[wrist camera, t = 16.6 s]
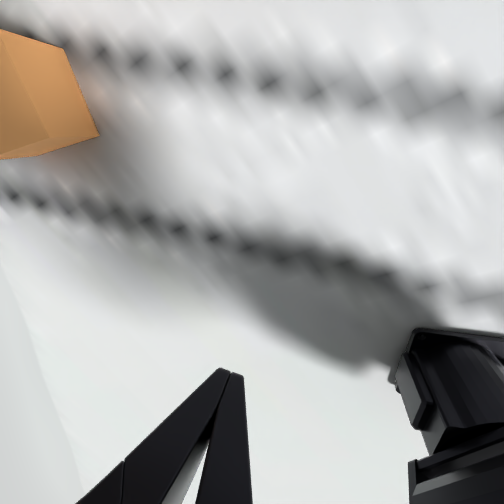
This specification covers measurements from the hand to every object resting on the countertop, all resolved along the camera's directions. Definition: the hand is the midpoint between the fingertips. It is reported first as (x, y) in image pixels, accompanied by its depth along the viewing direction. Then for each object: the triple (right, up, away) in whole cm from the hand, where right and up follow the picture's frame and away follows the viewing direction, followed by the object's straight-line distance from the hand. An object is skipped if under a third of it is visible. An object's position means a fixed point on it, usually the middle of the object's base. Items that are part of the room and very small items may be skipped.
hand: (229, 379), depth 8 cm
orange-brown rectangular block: (-13, +14, +10) cm, 21 cm away
